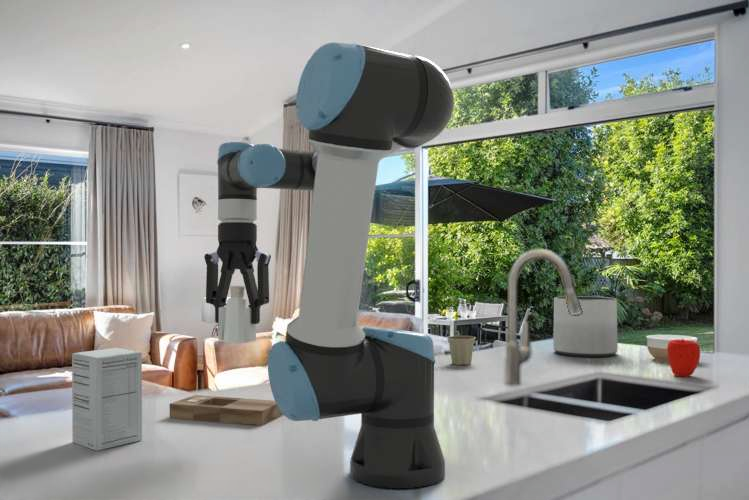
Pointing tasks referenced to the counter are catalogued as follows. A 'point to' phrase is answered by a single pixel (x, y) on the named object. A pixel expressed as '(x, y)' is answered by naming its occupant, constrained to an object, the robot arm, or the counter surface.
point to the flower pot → (461, 349)
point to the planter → (586, 327)
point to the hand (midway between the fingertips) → (237, 340)
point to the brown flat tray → (225, 409)
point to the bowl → (663, 345)
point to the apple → (683, 357)
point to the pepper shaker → (236, 316)
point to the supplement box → (106, 398)
